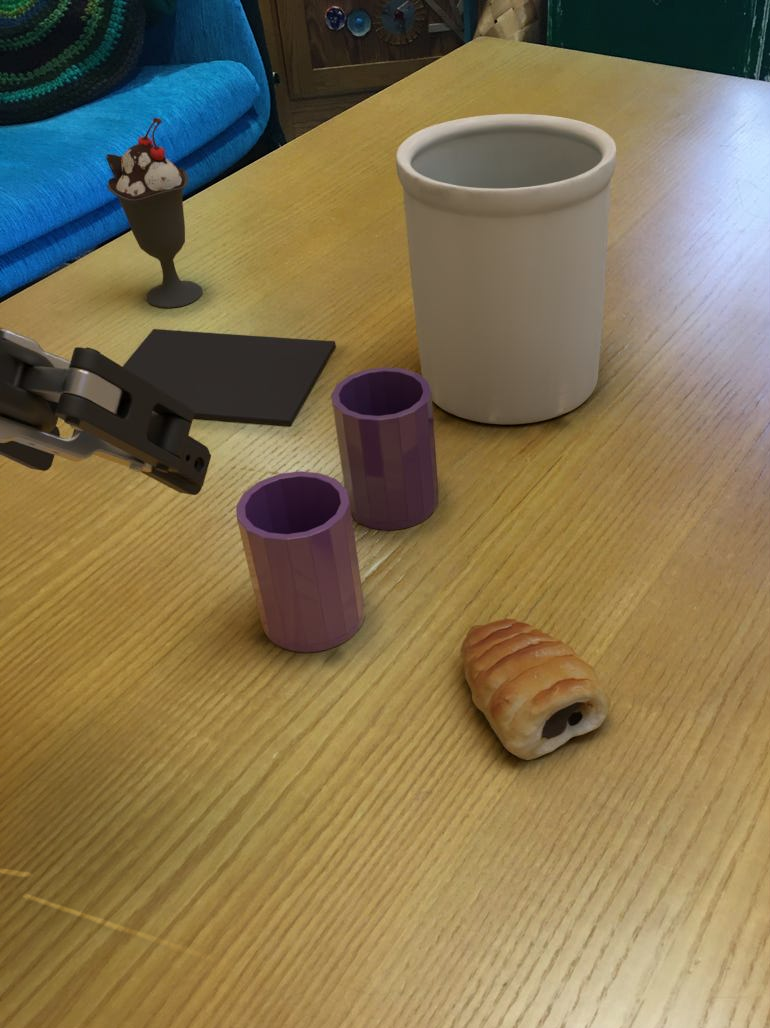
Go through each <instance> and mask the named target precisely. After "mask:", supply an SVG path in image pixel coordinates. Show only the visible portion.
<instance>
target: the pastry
mask: <svg viewBox="0 0 770 1028" xmlns="http://www.w3.org/2000/svg"><path fill="white" fill-rule="evenodd" d="M460 656H461V658H462V662H463V666H464V677H465V680H466V682H467V683H468V686H469V688H470V692H471V699H472V702H473V704H474V706H475V707H476V708H477V709H478V710H479V711H480V712H481V713H483V716H484V718H485V719H486V720H487V722H488V724H489V726H490V728H491V729H492V730H493V732H494V733H495V735H496V737H497V738H498V740H499V741H500V743H501V744H502V746H503V747H504V749H505V750H507V752H509V753H510V754H512V755H514V756H516V757H517V758H519V759H522V760H525V761H531V760H536V759H537V758H540V757H542V756H544V755H547V754H549V753H552V752H554V751H555V750H556V749H557V748H558V749H559V748H560V747H561V746H563V745H565V744H566V743H567V742H568V741H569V740H570V739H572V738H573V737H579V736H582V735H585V734H588V733H589V732H592V731H595V730H596V729H598V728H599V727H601V725H602V723H603V722H604V721H605V720H606V719H607V717H608V714H609V710H610V708H611V707H610V706H611V697H610V696H609V694H607V692H606V690H605V688H604V685H603V684H602V683H601V681H600V679H599V678H598V675H597V673H596V671H595V669H594V667H593V666H592V665H591V664H589V663H587V661H585V660H584V659H582V658H581V656H580V655H579V654H578V653H577V652H576V651H575V650H574V649H573V648H572V647H571V646H569V644H567V643H565V642H563V641H562V640H561V639H557V638H554V637H552V636H551V635H550V634H548V633H546V632H543V631H542V630H540V629H539V628H537V627H535V626H532V625H530V624H529V623H526V622H521V621H518V620H517V619H514V618H504V619H499V620H495V621H490V622H489V623H486V624H476V625H473V626H471V627H470V628H469V629H468V631H467V633H466V637H465V638H464V640H463V641H462V643H461V647H460Z"/></svg>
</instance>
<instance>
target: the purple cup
mask: <svg viewBox="0 0 770 1028" xmlns="http://www.w3.org/2000/svg"><path fill="white" fill-rule="evenodd" d="M238 500H239V501H238V502H237V504H236V506H235V508H236V510H235V511H236V522H237V524H238V529H239V533H240V539H241V542H242V545H243V546H242V547H243V550H244V551H243V552H244V555H245V559H246V563H247V568H248V572H249V576H250V581H251V586H252V590H253V594H254V598H255V602H256V607H257V611H258V615H259V619H260V624H261V626H262V629H263V632H264V634H265V636H266V637H267V638H268V640H270V641H271V642H272V643H273V644H274V645H276V646H278V647H279V648H282V649H284V650H288V651H291V652H296V653H317V652H322V651H326V650H330V649H333V648H335V647H338V646H340V645H343V644H344V643H345V642H347V641H348V640H351V638H352V637H353V636H354V635H356V633H357V632H358V631H359V629H360V628H361V626H362V624H363V623H364V620H365V613H366V611H365V601H364V594H363V587H362V586H363V585H362V579H361V572H360V565H359V559H358V552H357V543H356V537H355V530H354V529H355V528H354V523H353V517H352V515H351V508H350V501H349V496H348V491H347V489H346V488H345V487H344V484H342V483H341V482H339V480H338V479H336V478H333V477H332V476H329V475H326V474H324V473H321V472H314V471H313V472H312V471H291V472H285V473H278V474H275V475H273V476H270V477H268V478H265V479H261V480H260V481H258V482H256V483H255V484H253V485H252V486H251V487H250V488H248V489H247V490H246V491H244V492H243V493H242V495H241V497H240V499H238Z"/></svg>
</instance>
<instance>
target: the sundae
mask: <svg viewBox="0 0 770 1028" xmlns="http://www.w3.org/2000/svg"><path fill="white" fill-rule="evenodd" d="M152 120H153V121H152V123H151V124H150V126H149V127H148V130H147V132H146V133H145V135H144V136H141V137H139V138H138V139H137V144H133V145H132V146H130V147H129V148H128V149H127V150H126V151H125V152H124V153H123V155H117V154H113V153H112V154H110V153H107V154H106V155H105V159H106V161H107V164H108V166H109V168H110V171H111V172H112V175H113V177H111V178H109V179H108V181H107V182H108V184H107V185H106V189H107V191H109V192H110V193H111V194H113V195H114V196H116V197H117V199H118V200H119V203H120V205H121V207H122V210H123V212H124V215H125V217H126V219H127V223H128V224H129V226H130V230H131V232H132V234H133V236H134V239H135V241H136V242H137V244H138V247H139V248H140V249H141V251H142V252H144V253H146V254H147V255H148V256H150V257H152V258H154V259H157V260H158V261H159V263H160V268H161V271H162V282H161V284H157V285H156V286H154V287H152V288H150V290H148V292H147V294H146V301H147V302H148V303H149V304H150V305H151V306H154V307H158V308H161V309H162V308H164V309H173V308H174V309H175V308H179V307H184V306H187V305H190V304H192V303H194V302H196V301H197V300H198V299H200V297H201V296H202V295H203V288H202V287H201V285H199V284H198V283H196V282H194V281H191V280H181V278H180V277H179V275H178V273H177V271H176V266H175V263H174V262H175V261H174V259H175V258H176V255H177V254H178V253H180V251H182V250H181V249H183V246H184V245H185V243H186V223H185V213H184V203H183V190H184V189H186V188H187V187H188V185H189V175H188V173H187V172H186V170H185V169H184V168H183V167H177V165H176V164H174V163H173V162H172V161H171V160H170V159H168V158H167V157H166V151H165V149H164V148H163V147H162V146H158V145H157V143H156V140H155V132H156V129H157V128H158V126H159V125H160V124H162V123H163V121H162V119H161V118H159V117H153V118H152ZM155 124H156V125H155ZM154 125H155V126H154ZM153 126H154V128H153V130H152V136H151V138H152V139H151V138H150V137H149V133H150V132H151V129H152V127H153Z"/></svg>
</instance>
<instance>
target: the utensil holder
mask: <svg viewBox="0 0 770 1028" xmlns="http://www.w3.org/2000/svg"><path fill="white" fill-rule="evenodd" d="M395 165H396V167H395V168H396V174H397V178H398V180H399V183H400V185H401V186H402V194H403V204H404V206H403V207H404V215H405V225H406V226H405V227H406V238H407V239H406V240H407V248H408V259H409V270H410V278H411V279H410V281H411V290H412V299H413V309H414V318H415V319H414V320H415V330H416V338H417V344H418V345H417V346H418V355H419V362H420V370H421V376H422V377H423V378H424V379H425V380H427V381H428V383H429V386H430V389H431V394H432V403H434V404H435V405H436V406H438V407H439V408H440V409H441V410H443V411H445V412H447V413H449V414H450V415H451V414H452V415H453V416H456V417H458V418H461V419H465V420H469V421H472V422H476V423H481V424H487V425H489V424H490V425H524V424H525V425H526V424H532V423H538V422H543V421H548V420H550V419H554V418H556V417H559V416H562V415H564V414H567V413H569V412H572V411H574V410H575V409H577V408H578V407H580V406H581V405H583V404H584V403H585V402H586V401H587V400H588V399H589V398H590V397H591V396H592V395H593V393H594V391H595V389H596V387H597V384H598V378H599V372H600V371H599V370H600V369H599V368H600V357H601V347H602V346H601V344H602V335H603V324H604V306H605V293H606V292H605V290H606V275H607V257H608V244H609V243H608V242H609V226H610V207H611V183H612V178H613V176H614V175H615V171H616V168H617V167H616V166H617V144H616V142H615V141H614V139H613V138H612V136H611V135H610V134H608V133H607V132H606V131H604V130H603V129H601V128H599V127H597V126H595V125H593V124H590V123H588V122H584V121H580V120H577V119H573V118H568V117H561V116H554V115H545V114H532V113H531V114H530V113H500V114H499V113H497V114H483V115H475V116H468V117H463V118H457V119H453V120H448V121H444V122H440V123H436V124H433V125H429V126H428V127H424V128H422V129H420V130H418V131H416V132H414V133H413V134H411V135H410V136H408V137H407V138H406V139H405V140H404V141H403V142H402V143H400V145H399V147H398V148H397V151H396V154H395Z"/></svg>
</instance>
